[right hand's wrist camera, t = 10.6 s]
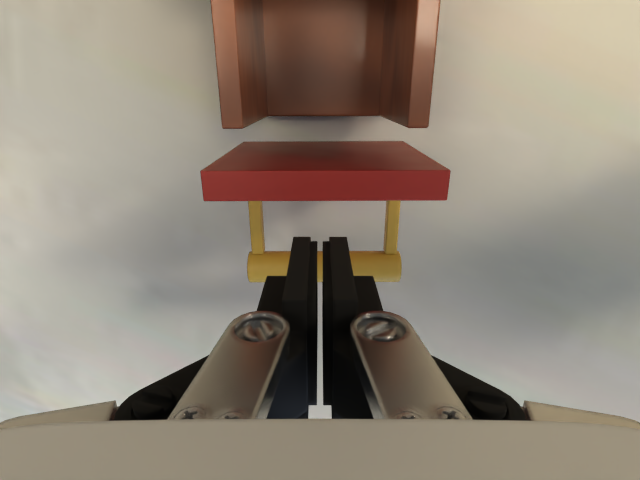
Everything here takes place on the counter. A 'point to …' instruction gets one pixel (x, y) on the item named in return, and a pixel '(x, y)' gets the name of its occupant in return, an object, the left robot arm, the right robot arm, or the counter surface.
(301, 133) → the counter surface
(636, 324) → the counter surface
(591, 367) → the counter surface
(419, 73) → the drawer
